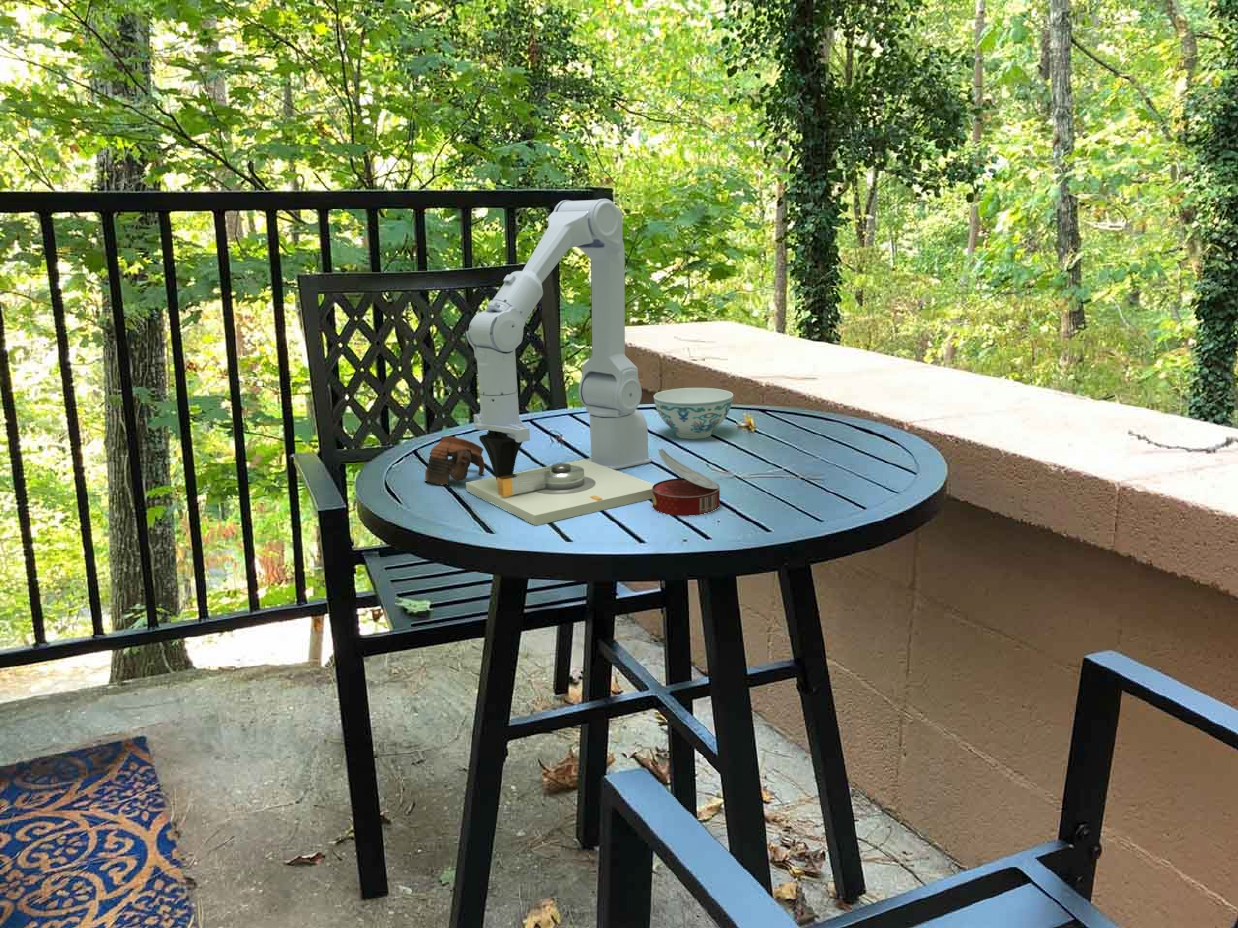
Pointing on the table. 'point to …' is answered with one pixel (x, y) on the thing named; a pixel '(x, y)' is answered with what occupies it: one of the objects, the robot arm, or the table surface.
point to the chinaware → (693, 410)
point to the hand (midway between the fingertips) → (504, 479)
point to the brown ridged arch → (453, 460)
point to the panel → (568, 495)
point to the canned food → (685, 491)
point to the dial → (542, 479)
